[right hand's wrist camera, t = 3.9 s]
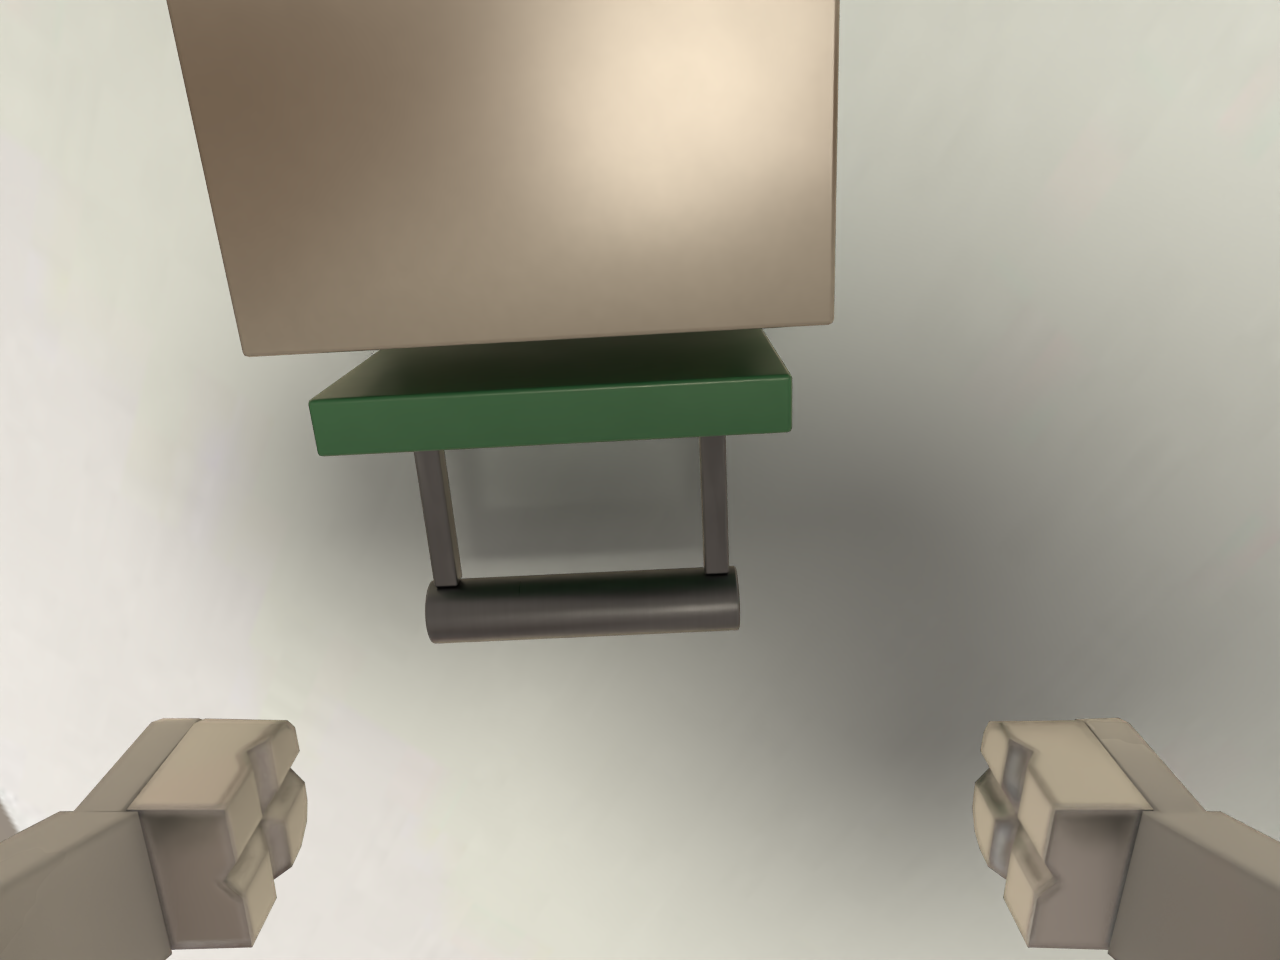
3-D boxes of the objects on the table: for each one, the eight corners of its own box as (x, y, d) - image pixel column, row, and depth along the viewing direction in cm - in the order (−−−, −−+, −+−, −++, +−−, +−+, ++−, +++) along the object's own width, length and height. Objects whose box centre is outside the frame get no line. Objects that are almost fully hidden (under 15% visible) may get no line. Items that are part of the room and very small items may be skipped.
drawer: (759, 564, 26) (792, 691, 20) (433, 579, 26) (366, 709, 20) (742, -707, 17) (795, -1209, 10) (241, -659, 17) (8, -1120, 11)
